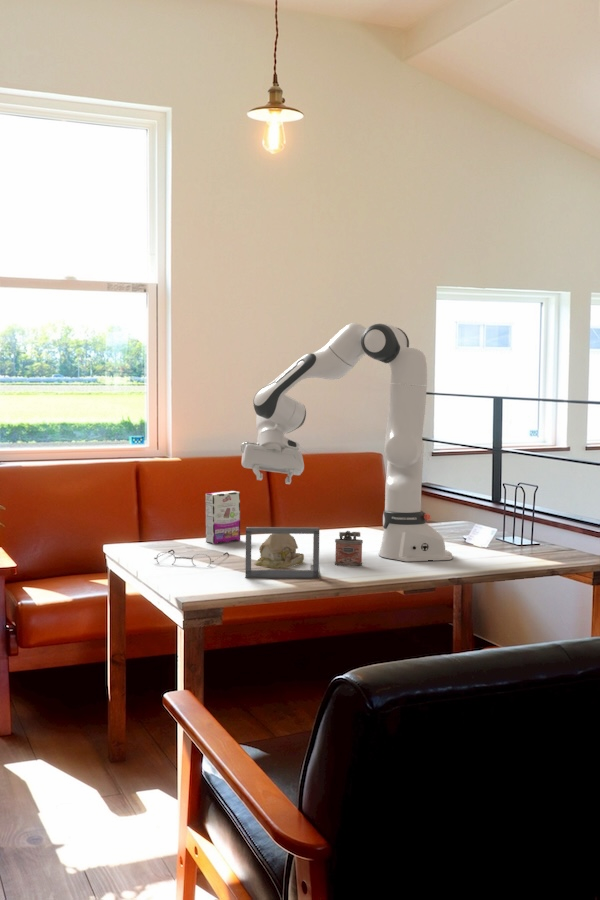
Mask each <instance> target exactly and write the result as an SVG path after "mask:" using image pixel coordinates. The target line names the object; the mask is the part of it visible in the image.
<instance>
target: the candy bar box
mask: <svg viewBox="0 0 600 900" xmlns="http://www.w3.org/2000/svg"><path fill="white" fill-rule="evenodd" d="M204 498H205V499H204V500H205V543H209V544H213V545H218V544H224V543H230V542H237V541H239V542H240V541H241V492H240V491H236V490H229V491H228V490H227V491H217V492H216V491H215V492H211V493H207V492H206V493H205V494H204Z"/></svg>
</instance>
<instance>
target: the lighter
mask: <svg viewBox="0 0 600 900" xmlns="http://www.w3.org/2000/svg"><path fill="white" fill-rule="evenodd" d="M338 535H339V538H336V539H334V542H335V560H334V565H335V566H340V567H363V542H364V541H363V540H362V539H357V537H359V538H360V537H361V532H360V531H352V532H351V531H350V530H346V531H339V534H338Z"/></svg>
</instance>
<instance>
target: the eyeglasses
mask: <svg viewBox="0 0 600 900" xmlns="http://www.w3.org/2000/svg"><path fill="white" fill-rule="evenodd" d="M172 552H173V553H172ZM174 553H175V551H174V549H170V550H168V551H164V552H163V551H162V552H160V553H158V554H157V555H156V557H153V560H156V562H157V564H158V563H160V562H159V560H158V558H159V557H162V556H164V555H167V554H170V555H172V556H173V557H174V561H173V563H172V565H174V564H175V563H176V560H177V559H179V560H180V559H185V560H191V563H192V565H194V567H196V566H197V565H196V564H194V561H193V560H194V559H193V558H194V557H195V556H198V555H204V556H206V557H208V558H209V561H210V562H209V565H208V566H207V567H209V566H211V564H212V563H214V562H215V561H216V560H218V559H220V558H221V557H223V556H226V555H228V556H230V554H229V552H228V551H227V552H224V553H223V555H221V556H218V558H216V559H214V560H212V558H211V557H210V556H209V555H208V554H204V553H196V554H194V555H193V556H192V557H190V556H189V557H188V556H175V554H174ZM159 555H160V556H159Z"/></svg>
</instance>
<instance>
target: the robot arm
mask: <svg viewBox="0 0 600 900" xmlns="http://www.w3.org/2000/svg"><path fill="white" fill-rule="evenodd" d="M365 356H368V357H369V358H372V359H373V360H376V361H379V362H381V363H384V364H388V366H389V367H390V371H391V373H390V374H391V375H390V384H389V385H390V386H389V388H390V389H389V399H388V400H389V402H388V413H387V418H386V419H387V420H386V429H385V436H384V437H385V438H384V448H383V449H384V450H383V451H384V455H385V458H386V460H387V461H386V462H387V464H386V466H387V468H386V474H385V475H386V477H385V484H384V485H385V490H384V491H385V492H384V495H385V496H384V499H385V500H384V510H383V514H382V526H383V534H382V541H381V545H380V549H379V551H378V552H379V553H378V556H380V557H382V558H384V559H391V560H398V561H402V562H426V561H428V560H433V561H449V560H452V559H453V553H452V552H450V551H449V550H446V544H445V539H444V537H443V536H442V534H440V532H438V531H437V530H436V529H434V527H432V526H431V525H430V524H428V521H430V520H431V519H432V516H431V515H430V513H426V512H425V511H422V481H423V467H424V466H423V465H424V450H425V449H424V448H425V447H424V446H425V445H424V441H423V435H424V434H423V431H424V423H425V422H424V421H425V414H426V405H427V404H426V403H427V401H426V400H427V387H428V366H427V365H428V364H427V357H426V355H425V354H424V352H423V351H422V350H420V349H418V348H414V347H410V340H409V337H408V335H407V333H405V331H404V330H402V329H401V328H399V327H397V326H394V325H391V324H384V323H374V324H372V325H370V326H368V327H367V328H366V327H365V326H364V325H362V324H360V323H357V322H351V323H348V324H347V325H346V326H344V327H342V329H340V330H339V331H338V332H337V333H336V334H335V335H334V336H333V337H332V338H330V339H329V341H328V342H327V343H326V344H325V345H324V346H323V347H321V348H320V349H317V350H316V351H313V352H312V353H307V354H305V355H303V356H301V357H300V358H298V360H296V361H295V362H294V363H293V364H291V365H290V366H289V367H288V368H286V370H284V371H283V372H282V373H281V374H279V375H278V376H276V378H275V379H274V380H272V381H271V382H270V383H268V384H267V385H265V386H263V387H262V388H260V389H259V390H258V391H256V393H255V395H254V397H253V399H252V400H253V409H254V411H255V414H256V421H255V423H256V431H257V442H249V441H245V442H243V443H241V445H240V452H241V453H242V454H241V466H242V467H243V468H245V469H249V470H250V469H252V472H253V473H254V475H255V476H256V481H262V480H263V478H264V473H262V472H260V471H265V472H271V473H277V474H278V473H280V474H286V475H287V476H286V478H285V479H284V482H285V484H286V485H291V483H292V477H293V476H301V474H303V472H304V471H305V463H304V457H303V454H302V452H301V451H300V450H299V449H300V448H301V446H300V443H299V442H296V441H294V440H292V439H290V438H288V437H286V436H285V434H289V433H291V432H294V431H297V430H298V429H299V428H301V427H302V426H303V425H304V423H305V421H306V417H307V410H306V406H305V405H304V403H302V402H300V401H298V400H297V399H295V398H292V397H291V396H289V395H288V394H286V393H288V392H289V391H290V390H291V389H293V388H294V387H295V386H296V385H298V384H299V383H300V382H301V381H302V380H305V379H313V378H317V379H324V380H332V381H333V380H339V379H341V378H344V377H345V376H346V375H348V373H350V371H351V370H352V369H353V368H354V367H355V366H356V364H357V363H359V362H360V360H362V358H363V357H365ZM428 562H429V561H428Z"/></svg>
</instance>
